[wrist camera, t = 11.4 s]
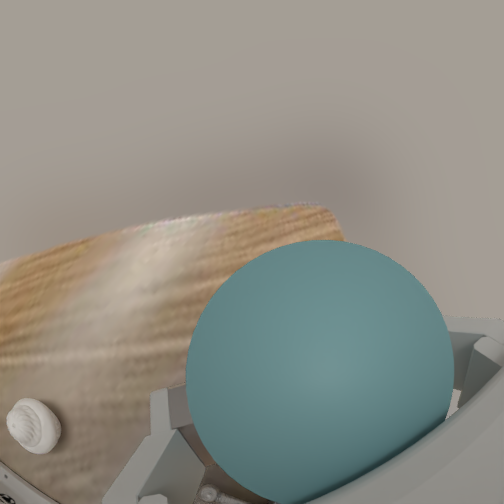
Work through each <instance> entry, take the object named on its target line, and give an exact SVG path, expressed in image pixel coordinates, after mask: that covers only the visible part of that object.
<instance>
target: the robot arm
mask: <svg viewBox="0 0 504 504" xmlns="http://www.w3.org/2000/svg"><path fill="white" fill-rule="evenodd" d="M442 317H443V319H444V321H445V324H446V326H447V329H448V333H449V336H450V340H451V344H452V350H453V356H454V384H453V389H457V390H461V395H460V398H459V401H458V408H459V409H458V410H457V411H456V412H455V413H454V414H452V415H451V416H450V417H449V418H448V419H446V420H445V421H444V422H443V423H441V424H440V425H439V426H438V427H436V428H435V429H434V430H432V431H431V432H430V433H428V434H427V435H426V436H424V437H423V438H422V439H420V440H419V441H417V442H416V443H415V444H413V445H412V446H410V447H409V448H407V449H406V450H404V451H403V452H401V453H400V454H398V455H397V456H395V457H394V458H392V459H390V460H389V461H387V462H386V463H384V464H382V465H381V466H379V467H377V468H376V469H374V470H372V471H370V472H369V473H367V474H365V475H363V476H361V477H360V478H358V479H356V480H354V481H352V482H350V483H348V484H346V485H344V486H342V487H340V488H338V489H336V490H334V491H332V492H330V493H328V494H326V495H323V496H321V497H319V498H317V499H314V500H312V501H310V502H307V503H305V504H504V321H503V320H501V319H491V318H490V319H489V318H473V317H457V316H443V315H442ZM150 427H151V435H148V436H145V438H144V439H143V441H142V442H141V444H140V445H139V447H138V448H137V450H136V451H135V452H134V454H133V455H132V457H131V458H130V460H129V461H128V463H127V464H126V465H125V467H124V468H123V470H122V471H121V473H120V474H119V476H118V477H117V478H116V480H115V481H114V483H113V484H112V486H111V487H110V488H109V490H108V491H107V493H106V494H105V495H104V497H103V498H102V504H193V502H194V500H195V497H196V494H197V492H198V489H199V486H200V484H201V481H202V478H203V476H204V473H205V470H206V468H205V467H207V466H210V465H213V464H216V462H215V461H214V459H213V458H212V456H211V455H210V454H209V452H208V451H207V449H206V448H205V446H204V445H203V443H202V441H201V439H200V437H199V435H198V433H197V431H196V428H195V426H194V423H193V420H192V417H191V413H190V410H189V406H188V399H187V393H186V382H184V383H181V384H177V385H174V386H170V387H168V388H163V389H159V390H156V391H152V392H151V394H150ZM0 504H59V503H57V502H56V501H54V500H52V499H51V498H49V497H48V496H46V495H45V494H43V493H42V492H40V491H39V490H37V489H36V488H34V487H33V486H32V485H30V484H29V483H27V482H26V481H25V480H23V479H22V478H21V477H19V476H18V475H17V474H16V473H14V472H13V471H12V470H10V469H9V468H8V467H7V466H6V465H4V464H3V463H2V462H1V461H0Z"/></svg>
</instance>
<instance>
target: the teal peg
mask: <svg viewBox="0 0 504 504" xmlns="http://www.w3.org/2000/svg"><path fill="white" fill-rule="evenodd" d="M453 384H454V356H453V350H452V344H451V340H450V336H449V333H448V329H447V326H446V324H445V321H444V319H443V317H442V314H441V312H440V310H439V309H438V307H437V305H436V303H435V302H434V300H433V298H432V297H431V296H430V294H429V293H428V292H427V290H426V289H425V288H424V286H423V285H422V284H421V283H420V282H419V281H418V280H417V279H416V278H415V277H414V276H413V275H412V274H411V273H410V272H409V271H407V270H406V269H405V268H404V267H402V266H401V265H400V264H398V263H397V262H395V261H394V260H392V259H391V258H389V257H387V256H385V255H383V254H381V253H379V252H377V251H375V250H372V249H369V248H367V247H364V246H361V245H357V244H353V243H348V242H343V241H333V240H311V241H304V242H297V243H293V244H289V245H286V246H282V247H279V248H276V249H274V250H271V251H269V252H266V253H264V254H262V255H261V256H259V257H257V258H255V259H253V260H252V261H250V262H248V263H247V264H246V265H244V266H243V267H242V268H240V269H239V270H237V271H236V272H235V273H234V274H233V275H232V276H231V277H230V278H229V279H228V280H227V281H225V282H224V283H223V284H222V286H221V287H220V288H219V289H218V290H217V292H216V293H215V294H214V295H213V297H212V298H211V299H210V301H209V303H208V304H207V306H206V308H205V309H204V311H203V312H202V314H201V316H200V318H199V321H198V323H197V325H196V328H195V330H194V332H193V336H192V339H191V343H190V346H189V350H188V357H187V364H186V393H187V399H188V406H189V410H190V413H191V417H192V420H193V423H194V426H195V428H196V431H197V433H198V435H199V437H200V439H201V441H202V443H203V445H204V446H205V448H206V449H207V451H208V452H209V454H210V455H211V456H212V458H213V459H214V461H215V462H216V463H217V464H218V465H219V466H220V467H221V468H222V469H223V470H224V471H225V472H226V473H227V474H228V475H229V476H230V477H231V478H233V479H234V480H235V481H236V482H238V483H239V484H240V485H242V486H243V487H245V488H246V489H248V490H250V491H252V492H253V493H255V494H257V495H259V496H261V497H264V498H266V499H269V500H271V501H274V502H277V503H281V504H305V503H307V502H310V501H312V500H314V499H317V498H319V497H321V496H323V495H326V494H328V493H330V492H332V491H334V490H336V489H338V488H340V487H342V486H344V485H346V484H348V483H350V482H352V481H354V480H356V479H358V478H360V477H361V476H363V475H365V474H367V473H369V472H370V471H372V470H374V469H376V468H377V467H379V466H381V465H382V464H384V463H386V462H387V461H389V460H390V459H392V458H394V457H395V456H397V455H398V454H400V453H401V452H403V451H404V450H406V449H407V448H409V447H410V446H412V445H413V444H415V443H416V442H417V441H419V440H420V439H422V438H423V437H424V436H426V435H427V434H428V433H430V432H431V431H432V430H434V429H435V428H436V427H438V426H439V425H440V424H441V423H443V422H444V421H445V418H446V415H447V412H448V409H449V406H450V401H451V397H452V392H453Z"/></svg>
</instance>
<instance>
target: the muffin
mask: <svg viewBox="0 0 504 504" xmlns="http://www.w3.org/2000/svg"><path fill="white" fill-rule="evenodd" d="M6 420H7V422H6V424H7V426H8V430H9V431H10V435H11V436H13V437H14V439H15V440H17V441H18V442H19V443H20V444H21V446H22V447H24V448H25V449H26V450H27V451H29V452H31V453H34V454H45V453H48V452H49V451H51V450H52V448H53V447H55V445H56V444H57V442H58V440H59V437H60V435H61V430H62V429H61V424H60V421H59V420H58V418H57V417H56V416H55V414H54V413H53V412H52V411H51V410H50V409H49V408H48V407H47V406H46V405H44V404H43V403H41V402H40V401H38V400H36V399H33V398H23V399H21V400H19V401H18V402H17V403H16V404H15V405H14V407H13V409H12V410H11V411H9V412H8V416H7V417H6Z"/></svg>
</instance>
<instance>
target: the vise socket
mask: <svg viewBox="0 0 504 504" xmlns="http://www.w3.org/2000/svg"><path fill="white" fill-rule="evenodd" d="M198 494H199V497H200V498H201V499H202V500H203V501H205V502H208V503H212V502H217V503H220V504H253V503H250V502H247V501H244V500H241V499H238V498H236V497H233V496H230V495H228V494H225V493H223V492H220V490H219V488H218V487H217V486H215V485H213V484H205V485H203V486H201V487H200V489H199V491H198ZM267 504H281V503H277V502H274V501H271V500H269V501H268V503H267Z"/></svg>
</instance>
